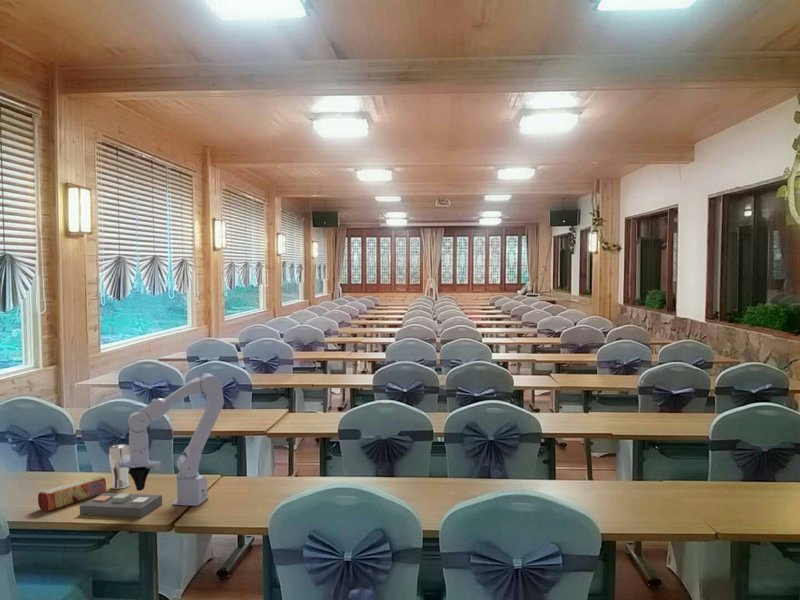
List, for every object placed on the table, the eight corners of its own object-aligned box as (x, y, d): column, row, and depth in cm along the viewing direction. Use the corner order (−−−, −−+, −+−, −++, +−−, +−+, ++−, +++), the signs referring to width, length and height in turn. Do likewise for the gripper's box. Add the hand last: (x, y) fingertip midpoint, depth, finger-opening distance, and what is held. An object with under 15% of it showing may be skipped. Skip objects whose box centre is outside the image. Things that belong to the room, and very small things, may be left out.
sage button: (130, 502, 201) (130, 493, 201) (123, 507, 197) (123, 498, 197) (120, 502, 201) (119, 493, 201) (112, 506, 197) (112, 497, 197)
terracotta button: (112, 504, 202) (111, 496, 202) (104, 509, 198) (104, 500, 198) (101, 504, 203) (101, 495, 202) (93, 508, 199) (93, 499, 198)
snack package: (97, 491, 219) (96, 472, 218) (108, 494, 215) (107, 475, 215) (37, 510, 200) (36, 490, 200) (47, 514, 197) (47, 493, 197)
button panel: (162, 503, 203) (162, 495, 203) (141, 517, 191) (141, 508, 191) (104, 501, 207) (103, 492, 207) (79, 514, 195) (79, 505, 195)
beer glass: (123, 490, 218) (121, 449, 218) (106, 489, 220) (104, 448, 219) (135, 483, 225) (133, 444, 225) (118, 483, 226) (117, 443, 226)
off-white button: (150, 506, 199) (149, 497, 199) (143, 511, 196) (142, 501, 195) (139, 506, 200) (138, 497, 200) (131, 510, 196) (131, 501, 196)
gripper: (111, 451, 195) (113, 493, 195) (152, 452, 192) (153, 494, 193) (124, 445, 202) (126, 485, 202) (164, 446, 199) (165, 487, 199)
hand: (140, 489), depth 198 cm, fingers closed
